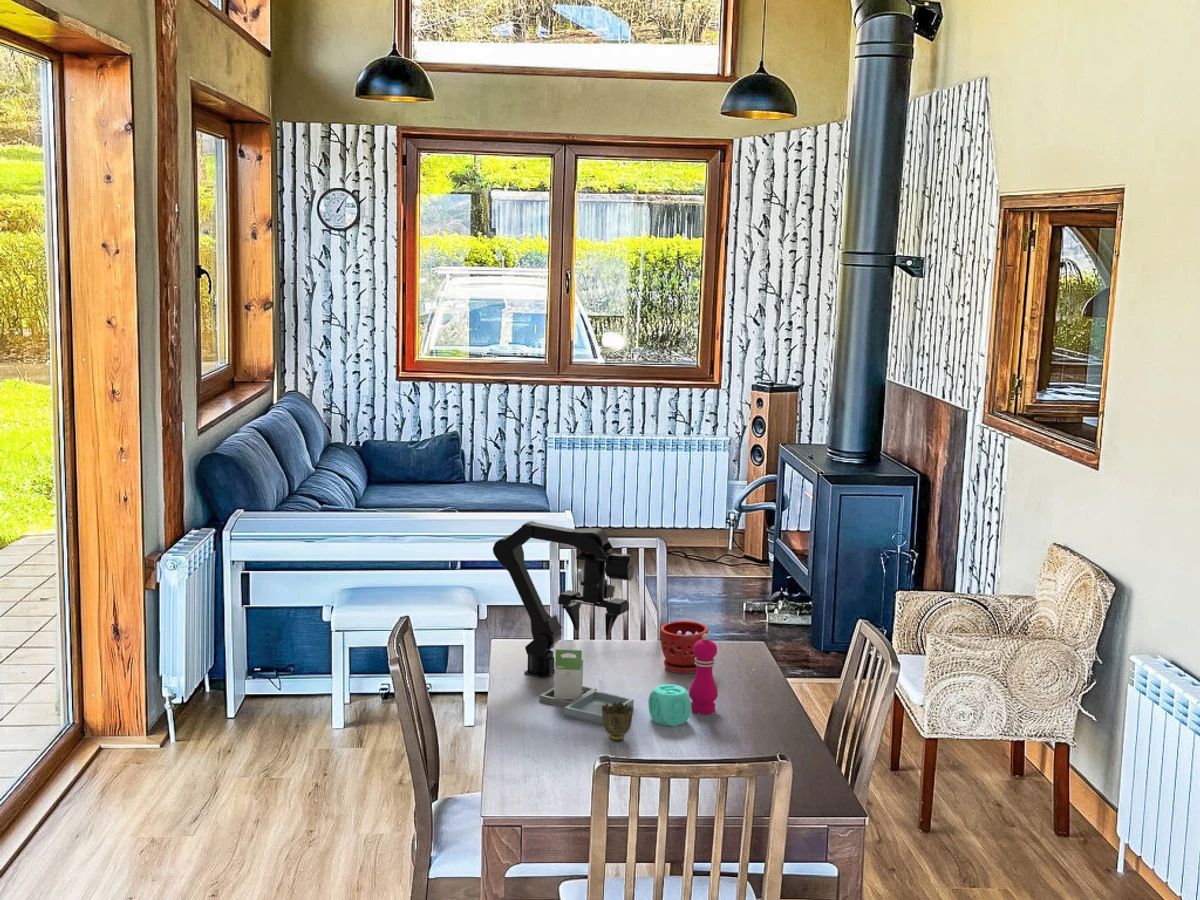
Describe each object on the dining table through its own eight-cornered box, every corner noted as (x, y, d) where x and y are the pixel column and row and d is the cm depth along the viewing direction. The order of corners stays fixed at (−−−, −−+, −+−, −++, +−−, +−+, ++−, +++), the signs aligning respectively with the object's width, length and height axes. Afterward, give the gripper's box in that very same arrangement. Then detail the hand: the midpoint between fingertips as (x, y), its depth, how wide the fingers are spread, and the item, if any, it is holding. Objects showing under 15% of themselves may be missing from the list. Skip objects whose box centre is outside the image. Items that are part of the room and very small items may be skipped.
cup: (609, 747, 297) (610, 715, 295) (595, 736, 303) (596, 704, 302) (637, 742, 300) (638, 710, 299) (622, 731, 306) (623, 700, 305)
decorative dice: (676, 713, 320) (677, 682, 318) (691, 724, 313) (692, 693, 311) (647, 716, 317) (648, 686, 315) (661, 728, 309) (662, 696, 308)
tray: (564, 717, 315) (564, 707, 314) (593, 699, 327) (593, 690, 327) (605, 726, 309) (605, 716, 309) (633, 708, 322) (633, 699, 322)
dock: (539, 701, 325) (539, 695, 325) (564, 686, 336) (564, 681, 336) (571, 708, 321) (571, 702, 320) (596, 693, 332) (596, 688, 331)
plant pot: (675, 658, 362) (677, 617, 360) (715, 667, 355) (717, 626, 353) (650, 669, 352) (651, 627, 350) (690, 680, 344) (692, 637, 342)
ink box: (582, 695, 330) (583, 645, 328) (580, 701, 326) (581, 650, 324) (555, 694, 331) (556, 644, 329) (553, 699, 327) (554, 649, 325)
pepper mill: (721, 708, 324) (724, 632, 321) (711, 717, 317) (714, 639, 314) (694, 703, 327) (697, 627, 324) (684, 712, 320) (687, 635, 317)
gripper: (639, 574, 340) (637, 631, 343) (577, 565, 349) (576, 620, 351) (620, 584, 331) (618, 642, 333) (557, 574, 339) (556, 630, 341)
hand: (592, 633), depth 340 cm, fingers open, 9 cm apart
